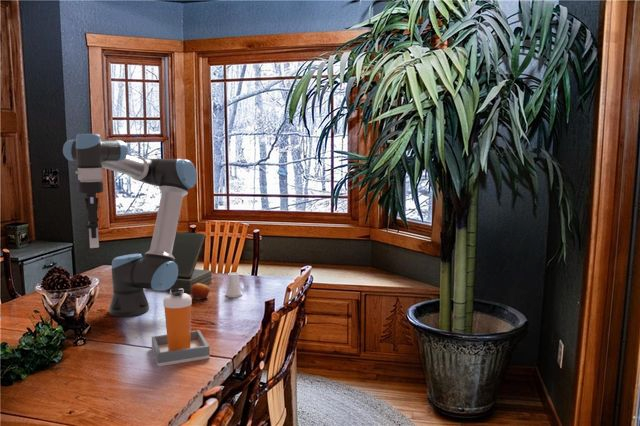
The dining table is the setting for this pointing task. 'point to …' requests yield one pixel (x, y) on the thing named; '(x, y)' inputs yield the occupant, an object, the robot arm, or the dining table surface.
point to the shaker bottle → (178, 319)
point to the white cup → (233, 285)
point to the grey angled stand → (189, 261)
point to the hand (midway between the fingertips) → (94, 244)
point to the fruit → (200, 291)
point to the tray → (195, 352)
